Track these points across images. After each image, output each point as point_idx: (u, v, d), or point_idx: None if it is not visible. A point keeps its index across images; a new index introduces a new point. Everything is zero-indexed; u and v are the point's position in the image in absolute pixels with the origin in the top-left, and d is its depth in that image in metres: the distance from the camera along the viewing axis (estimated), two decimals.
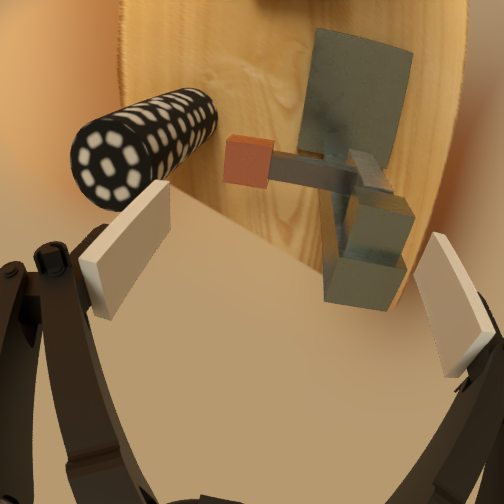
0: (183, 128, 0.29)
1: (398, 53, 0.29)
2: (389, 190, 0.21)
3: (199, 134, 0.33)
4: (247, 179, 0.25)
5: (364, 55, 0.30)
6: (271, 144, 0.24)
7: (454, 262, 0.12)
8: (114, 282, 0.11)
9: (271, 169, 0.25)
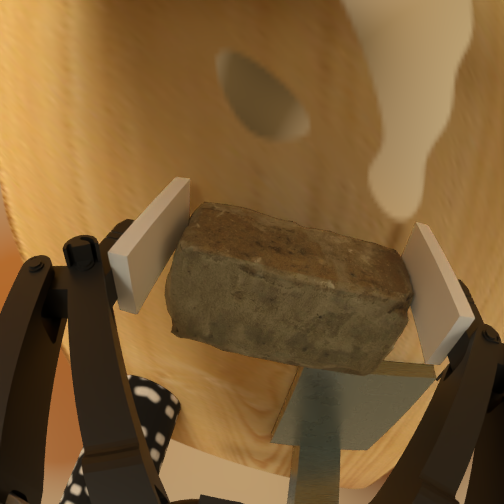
0: None
1: (415, 381, 0.23)
2: None
3: (160, 465, 0.26)
4: None
5: (366, 389, 0.24)
6: None
7: (435, 250, 0.12)
8: (141, 276, 0.11)
9: None
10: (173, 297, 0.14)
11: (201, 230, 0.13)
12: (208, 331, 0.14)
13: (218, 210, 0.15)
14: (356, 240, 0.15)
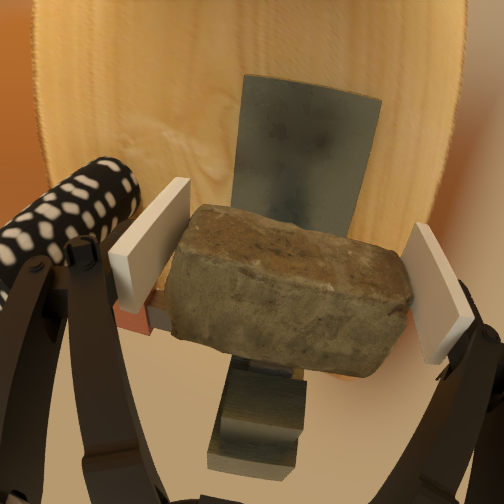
0: None
1: (360, 102, 0.24)
2: (286, 371, 0.16)
3: (104, 230, 0.28)
4: (127, 325, 0.20)
5: (311, 109, 0.25)
6: None
7: (435, 250, 0.12)
8: (141, 276, 0.11)
9: (149, 318, 0.20)
10: (172, 300, 0.14)
11: (200, 232, 0.13)
12: (207, 333, 0.14)
13: (218, 212, 0.15)
14: (356, 242, 0.15)
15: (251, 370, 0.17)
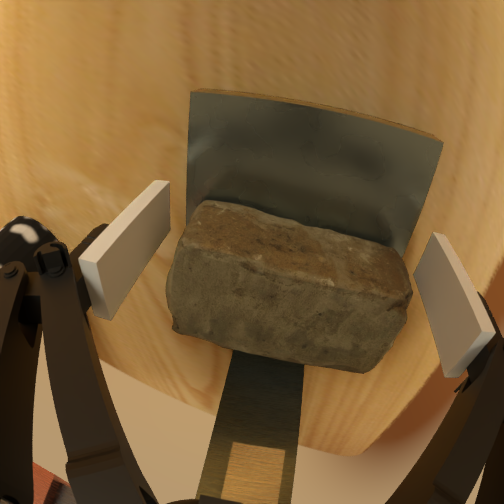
0: None
1: (406, 144, 0.13)
2: None
3: None
4: None
5: (316, 155, 0.14)
6: (43, 494, 0.08)
7: (454, 262, 0.12)
8: (114, 282, 0.11)
9: None
10: (174, 294, 0.14)
11: (202, 227, 0.13)
12: (209, 328, 0.14)
13: (219, 207, 0.15)
14: (356, 238, 0.15)
15: None
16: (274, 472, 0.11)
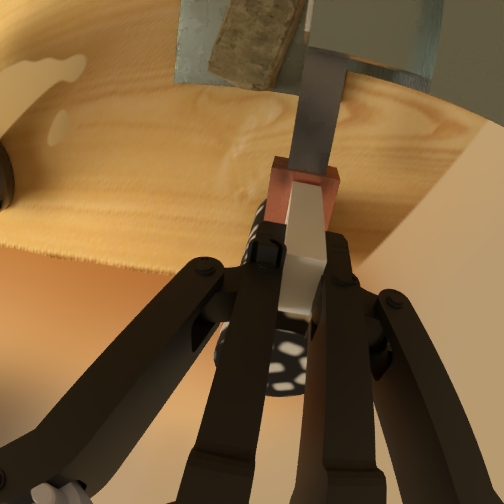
0: None
1: None
2: None
3: None
4: (323, 205, 0.17)
5: (199, 27, 0.24)
6: (272, 165, 0.17)
7: (313, 205, 0.14)
8: None
9: (309, 170, 0.16)
10: (236, 80, 0.23)
11: None
12: (258, 65, 0.22)
13: None
14: None
15: None
16: None
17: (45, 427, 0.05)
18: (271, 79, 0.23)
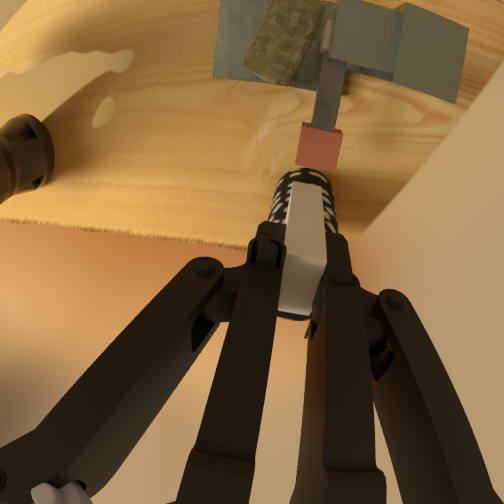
0: None
1: (226, 4, 0.29)
2: (327, 24, 0.18)
3: None
4: (333, 150, 0.26)
5: (235, 33, 0.32)
6: None
7: (313, 205, 0.14)
8: None
9: (324, 128, 0.25)
10: (264, 75, 0.30)
11: None
12: (282, 66, 0.29)
13: None
14: None
15: None
16: (322, 33, 0.25)
17: (45, 427, 0.05)
18: (291, 77, 0.30)
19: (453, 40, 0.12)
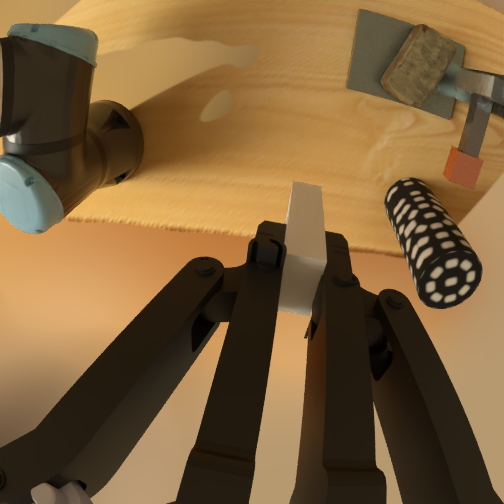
0: (432, 214, 0.34)
1: (363, 21, 0.31)
2: (494, 79, 0.20)
3: (433, 200, 0.37)
4: (475, 172, 0.28)
5: (370, 51, 0.33)
6: (455, 150, 0.28)
7: (313, 205, 0.14)
8: None
9: (471, 154, 0.27)
10: (404, 95, 0.32)
11: (386, 78, 0.32)
12: (420, 91, 0.31)
13: (383, 76, 0.34)
14: None
15: (494, 98, 0.21)
16: (460, 72, 0.26)
17: (45, 427, 0.05)
18: None
19: None
